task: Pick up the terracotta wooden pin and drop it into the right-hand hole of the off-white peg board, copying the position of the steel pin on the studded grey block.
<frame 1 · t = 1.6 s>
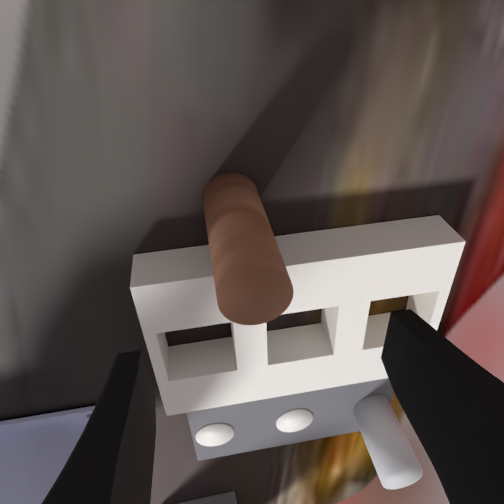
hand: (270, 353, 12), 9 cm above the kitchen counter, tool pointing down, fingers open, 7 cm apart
studded grey block: (289, 401, 30), on the kitchen counter
peg board: (290, 305, 24), on the kitchen counter
terracotta pin: (230, 197, 20), on the kitchen counter
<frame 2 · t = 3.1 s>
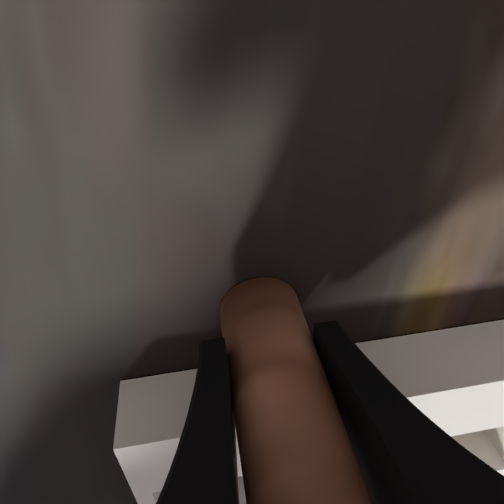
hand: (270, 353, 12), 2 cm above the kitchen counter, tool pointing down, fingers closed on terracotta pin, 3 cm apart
peg board: (331, 421, 18), on the kitchen counter
terracotta pin: (258, 308, 14), on the kitchen counter, touching gripper
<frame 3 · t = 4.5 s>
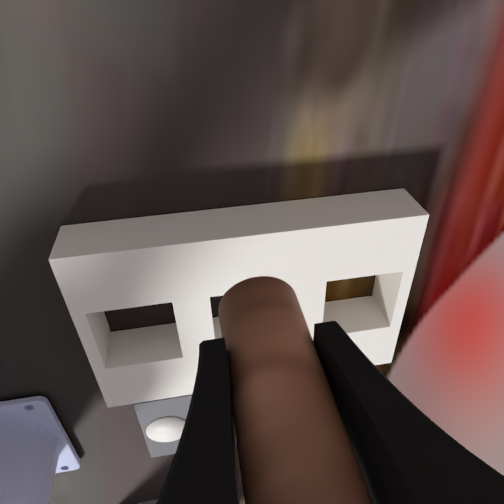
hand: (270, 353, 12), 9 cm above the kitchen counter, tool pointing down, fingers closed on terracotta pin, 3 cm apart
studded grey block: (250, 394, 28), on the kitchen counter
peg board: (244, 287, 22), on the kitchen counter
terracotta pin: (258, 307, 14), point 7 cm above the kitchen counter, touching gripper
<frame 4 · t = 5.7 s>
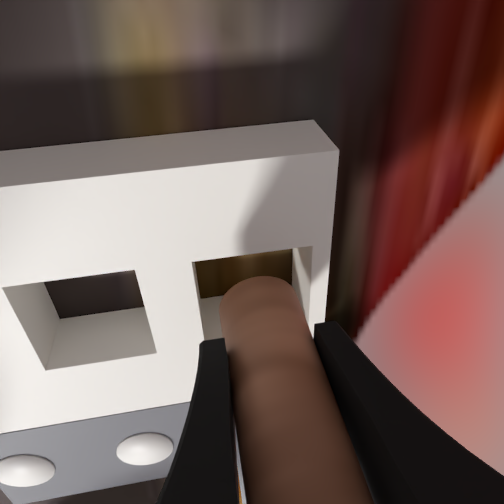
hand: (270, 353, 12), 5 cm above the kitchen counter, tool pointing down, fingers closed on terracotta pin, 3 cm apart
studded grey block: (146, 420, 21), on the kitchen counter
peg board: (97, 274, 15), on the kitchen counter
terracotta pin: (258, 307, 14), point 3 cm above the kitchen counter, touching gripper
when the fingers open (3 cm above the kitchen counter, at t = 6.3 s): terracotta pin drops 1 cm, resting in peg board.
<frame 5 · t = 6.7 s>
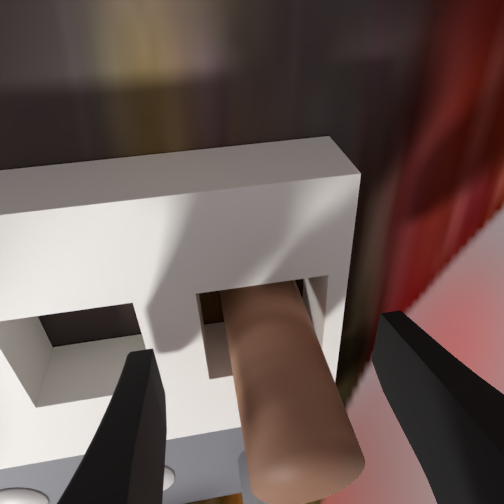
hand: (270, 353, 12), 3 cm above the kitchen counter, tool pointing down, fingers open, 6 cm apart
studded grey block: (146, 447, 20), on the kitchen counter
peg board: (92, 301, 14), on the kitchen counter
terracotta pin: (254, 277, 15), resting in peg board
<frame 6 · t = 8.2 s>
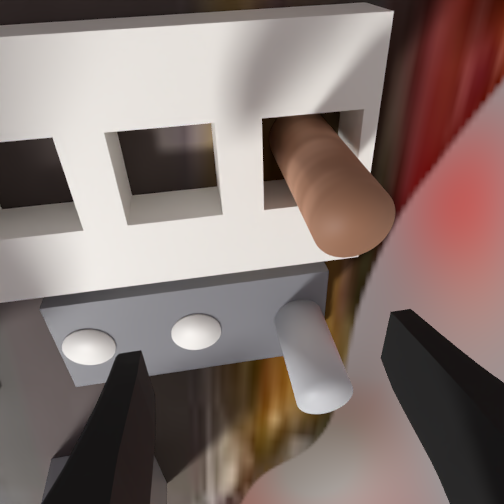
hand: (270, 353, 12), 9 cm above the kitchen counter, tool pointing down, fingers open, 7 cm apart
studded grey block: (195, 311, 23), on the kitchen counter
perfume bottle: (113, 469, 32), on the kitchen counter
peg board: (168, 150, 18), on the kitchen counter
terracotta pin: (298, 137, 18), resting in peg board
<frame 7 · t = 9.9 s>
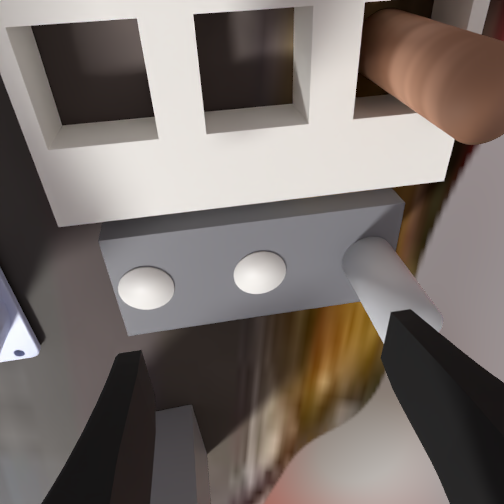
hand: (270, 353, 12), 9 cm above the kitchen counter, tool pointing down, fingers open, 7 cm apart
studded grey block: (254, 254, 22), on the kitchen counter
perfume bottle: (153, 438, 30), on the kitchen counter
peg board: (245, 58, 16), on the kitchen counter
terracotta pin: (384, 45, 17), resting in peg board
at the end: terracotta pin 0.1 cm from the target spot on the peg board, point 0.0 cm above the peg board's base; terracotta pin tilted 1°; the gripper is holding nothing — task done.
